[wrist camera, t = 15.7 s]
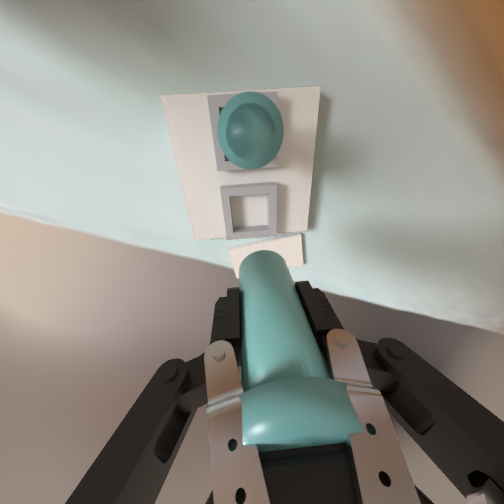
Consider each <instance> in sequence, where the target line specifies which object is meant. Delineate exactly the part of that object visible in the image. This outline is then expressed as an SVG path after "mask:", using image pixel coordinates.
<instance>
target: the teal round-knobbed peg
mask: <svg viewBox="0 0 504 504" xmlns="http://www.w3.org/2000/svg"><path fill="white" fill-rule="evenodd" d="M239 289H240V322H241V350H240V357H241V384H242V388H243V392H244V393H242V394H241V395H239V396H238V397H239V398H240V400H241V402H242V433H243V445H249V444H256V446H257V450H258V452H267V451H275V450H284V449H293V448H302V447H310V446H319V445H328V444H337V443H345V442H346V438H347V436H348V434H349V433H355V432H364V430H363V428H362V426H361V423H360V421H359V419H358V416H357V414H356V412H355V409H354V407H353V405H352V402H351V400H350V398H349V395H348V393H347V385H346V384H344V383H342V382H339V381H336V380H333V379H331V378H330V375H329V372H328V370H327V367H326V365H325V362H324V360H323V357H322V354H321V352H320V349H319V347H318V344H317V342H316V339H315V336H314V334H313V331H312V329H311V326H310V324H309V321H308V318H307V316H306V313H305V311H304V308H303V306H302V303H301V300H300V298H299V295H298V293H297V290H296V288H295V285H294V282H293V280H292V277H291V275H290V272H289V270H288V267H287V264H286V262H285V260H284V258H283V257H282V256H281V255H279V254H278V253H276V252H274V251H270V250H260V251H256V252H253V253H251V254H249V255H248V256H247V257H245V258H244V260H243V261H242V262H241V265H240V268H239ZM366 430H367V431H368V433H369V434H371V435H372V433H371V431H370V430H369V428H368V427H367V426H366ZM236 448H237V442H234V443H233V444H232V446H231V448H230V451H234V450H235V449H236Z"/></svg>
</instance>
